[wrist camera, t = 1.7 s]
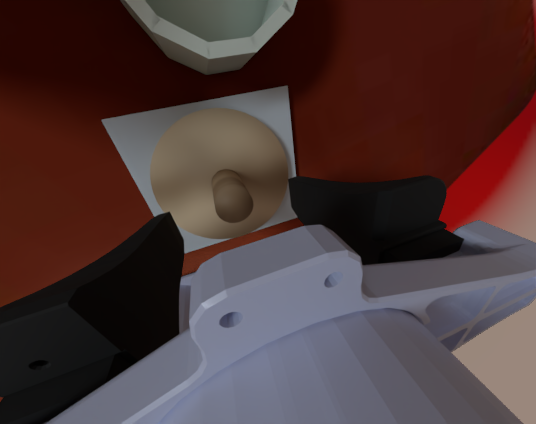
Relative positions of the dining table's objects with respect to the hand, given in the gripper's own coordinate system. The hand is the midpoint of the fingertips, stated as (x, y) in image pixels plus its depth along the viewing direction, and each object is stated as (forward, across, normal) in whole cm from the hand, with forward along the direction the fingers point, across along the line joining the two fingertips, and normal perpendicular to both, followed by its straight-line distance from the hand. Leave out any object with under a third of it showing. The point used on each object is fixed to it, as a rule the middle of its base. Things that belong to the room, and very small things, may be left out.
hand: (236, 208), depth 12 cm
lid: (+6, 0, 0) cm, 6 cm away
